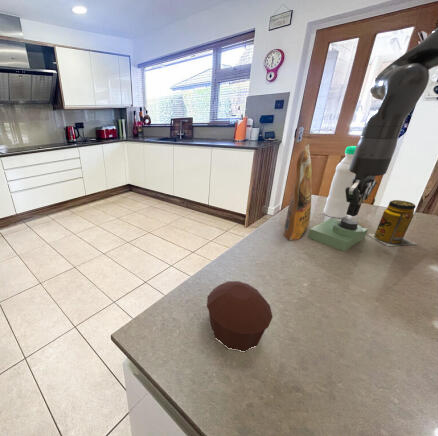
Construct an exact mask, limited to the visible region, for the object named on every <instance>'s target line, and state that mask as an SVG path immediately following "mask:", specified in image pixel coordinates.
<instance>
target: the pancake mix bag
mask: <svg viewBox="0 0 438 436" xmlns="http://www.w3.org/2000/svg"><path fill="white" fill-rule="evenodd" d="M310 145H311V143H310V142H309V143H307V144H306V145H305V146H304V147H303V148H302V149H301V151H299V152H298V153H299V154H298V158H297V162H296V173H295V174H296V175H295V183H294V185H293V189H292V193H291V196H290V199H289V203H288V207H287V213H286V218H285V222H284V223H285V224H284V232H283V237H284V238H285V239H286V240H287V241H289V242H291V241H292V240H297V241H298V240H299V239H301V238H302V236H303V234H304V233H305V231H306V230H307V228H308V227H309V225H310V221H311V214H312V213H311V212H312V185H313V180H312V176H313V171H312V170H313V168H312V160H311V159H312V158H311V153H310Z"/></svg>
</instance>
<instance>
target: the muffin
mask: <svg viewBox="0 0 438 436" xmlns="http://www.w3.org/2000/svg"><path fill="white" fill-rule="evenodd" d="M206 308H207V310H208V315H209V321H210V322H209V323H210V328H211V327H212V328H211V330H212V329H213V330H212V332H213V331H214V332H213V335H215V336H214V339H215V338H217V339H218V340H220V341H221V342H222V343H223V344H224V345H226V346H227V347H228V348H232V349H238V350H241V351H246V350H248V349H249V348H251V347H254V346H257V347H258V345H259V343H260V341H261V339H262V337H263V335H264V333H265V331H266V329H268V328H269V326H270V325H271V322H272V320H273V317H274V316H273V312H272V309H271V305H270V304H269V302H268V301H267V300H266V298H264V296H263V295H262V293H261V292H260V291H259V290H258V289H257V288H255V287H254V286H252V285H250V284H249V283H247V282H242V281H238V280H231V281H230V280H229V281H226V282H222V283H221V284H219V285H217V286H215V287H214V288H213V289H212V291H210V293H209V294H208V295H207V298H206ZM223 344H222V345H223ZM224 345H223V346H224ZM248 351H249V350H248ZM246 352H247V351H246Z"/></svg>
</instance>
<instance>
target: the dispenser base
mask: <svg viewBox="0 0 438 436" xmlns="http://www.w3.org/2000/svg"><path fill="white" fill-rule="evenodd" d="M340 222H341V220H339V219H337V218H333V217H330V218H329V219H327V220H325V221H323V222H321V223H319V224H317V225H315V226H312V227H311V228H309V231H308V235H307V238H308V239H309V240H313V241H316V242H317V243H321V244H323V245H326V246H329V247H331V248H333V249H336V250H339V251H341V252H346V251H347V250H349V249H351V248H352V247H353V246H355V245H356V244H358V243H360V242H362V241H363V240H365V238H366V236H367V234H368V231H369V228H366V227H363V226H361V225H359V224H358V226H357V228H356V230H349V229H344V228H342V227H340V226H339V225H340Z"/></svg>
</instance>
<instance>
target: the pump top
mask: <svg viewBox="0 0 438 436" xmlns="http://www.w3.org/2000/svg"><path fill="white" fill-rule="evenodd" d="M340 221H341V222H340V225H339V226H340V227H342V228H344V229H349V230H356V228H357V226H358V225H359V221H357V220H355V219H352V218H340Z"/></svg>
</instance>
